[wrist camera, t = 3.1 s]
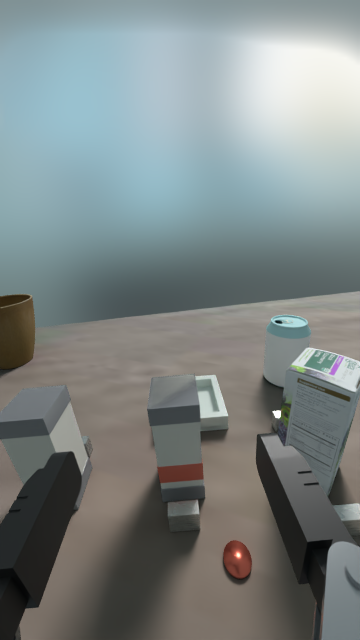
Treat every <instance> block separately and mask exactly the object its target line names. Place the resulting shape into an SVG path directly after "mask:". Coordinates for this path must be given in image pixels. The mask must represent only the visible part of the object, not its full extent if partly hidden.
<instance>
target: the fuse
mask: <svg viewBox="0 0 360 640" xmlns="http://www.w3.org/2000/svg"><path fill="white" fill-rule="evenodd" d="M70 400H71V398H70V395H69V392H68V389H67V386H66V385H61V386H49V387H38V388H26V389H22V390H21V391H20V392H19V393H18V394H17V396H16V397H15V398H14V399H13V400H12V401H11V402H10V403H9V404H8V405H7V406H6V407H5V408H4V409H3V410H2V411H1V412H0V439H1V441H2V443H3V445H4V447H5V449H6V451H7V453H8V455H9V457H10V459H11V461H12V463H13V465H14V467H15V469H16V471H17V473H18V475H19V477H20V479H21V481H22V483H23V485H24V484H25V483H26V481H27V480H28V479H29V478H30V477H31V476H32V475H33V474H34V473H35V472H36V471H37V470H38V469H41V468H44V467H45V465H46V463H47V461H48V459H49V458H50V456H51V455H52V454H53V453H57V452H68V451H72V452H74V455H75V457H76V460H77V463H78V466H79V469H80V472H81V475H82V485H81V490H80V493H79V496H78V499H77V501H76V504H75V507H74V510H78V509H79V506H80V503H81V500H82V497H83V494H84V491H85V488H86V485H87V482H88V479H89V476H90V473H91V471H92V465H91V462H90V458H89V457H88V456H87V453H86V450H85V447H84V444H83V441H82V438H81V434H80V431H79V428H78V425H77V422H76V419H75V416H74V413H73V409H72V406H71V403H70Z"/></svg>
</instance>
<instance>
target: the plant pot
mask: <svg viewBox="0 0 360 640" xmlns="http://www.w3.org/2000/svg"><path fill="white" fill-rule="evenodd" d="M34 344H35V317H34V308H33V301H32V296H31V295H27V294H15V295H5V296H0V369H12V368H16V367H19V366H22V365H24V364H26V363H28V362H29V361H30V360H31V359H32V358H33V353H34Z"/></svg>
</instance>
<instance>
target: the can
mask: <svg viewBox="0 0 360 640" xmlns="http://www.w3.org/2000/svg"><path fill="white" fill-rule="evenodd" d="M310 337H311V330H310V328H309V327H308V321H307V320H305V319H304V318H301V317H298V316H293V315H278V316H275V317H273V318H271V322H270V323H269V324H268V326H267V328H266V341H265V356H264V371H263V374H264V377H265V378H266V379H267V380H268V381H269V382H271V383H272V384H274V385H276V386H279V387H284V383H285V375H286V370H287V369H288V368H289V367H290V366H291V365H292V363H293V362H294V361H295V360H296V359H297V358H298V357H299V356H300V355H301V353H302V352H303V351H304V350H305V349H306V348H309V344H310Z"/></svg>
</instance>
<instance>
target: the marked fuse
mask: <svg viewBox="0 0 360 640" xmlns="http://www.w3.org/2000/svg"><path fill="white" fill-rule="evenodd" d="M147 411H148V417H149V423H150V426H151V427H152V433H153V439H154V445H155V451H156V458H157V464H158V473H159V480H160V483H161V495H162V501H163V502H168V501H179V500H190V499H201V498H205V488H204V479H203V463H202V454H201V438H200V422H201V418H200V403H199V397H198V391H197V385H196V379H195V374H188V375H177V376H165V377H154V378H152V379H151V386H150V393H149V400H148V407H147Z"/></svg>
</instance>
